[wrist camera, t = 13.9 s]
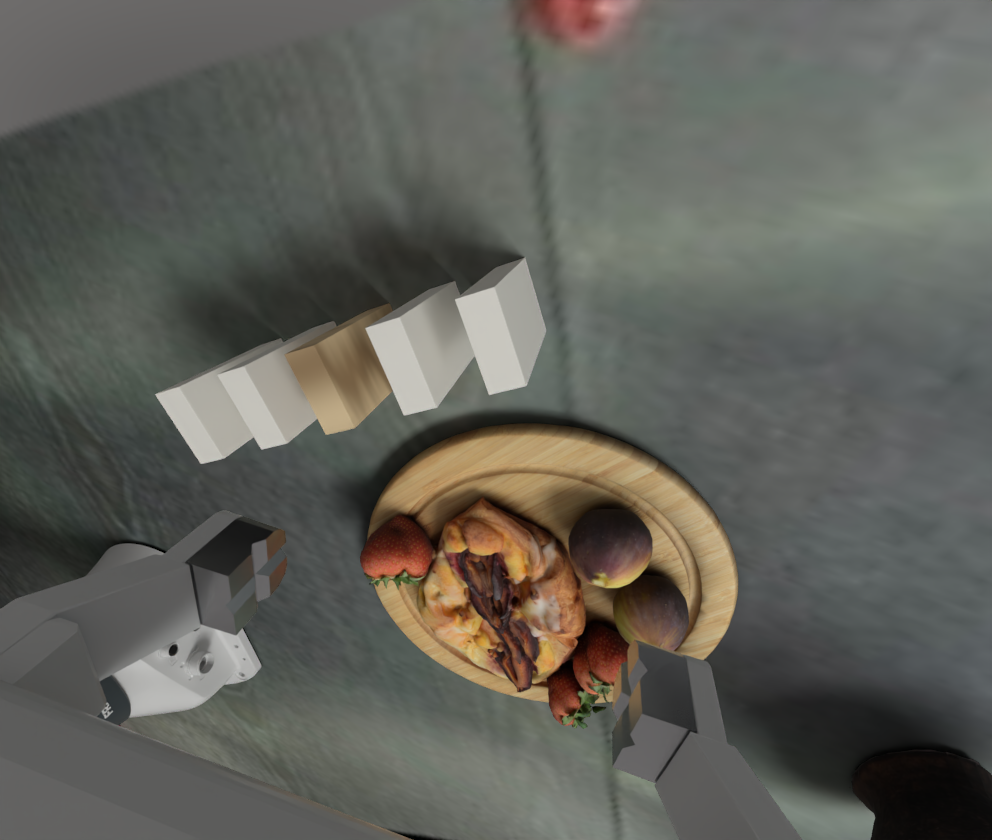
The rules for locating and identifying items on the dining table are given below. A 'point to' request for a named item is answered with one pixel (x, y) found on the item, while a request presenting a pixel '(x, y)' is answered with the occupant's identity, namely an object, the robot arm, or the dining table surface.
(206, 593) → the robot arm
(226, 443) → the domino
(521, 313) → the domino
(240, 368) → the domino
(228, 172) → the dining table surface
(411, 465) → the wooden plate with food
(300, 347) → the domino
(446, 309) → the domino
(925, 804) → the jug
